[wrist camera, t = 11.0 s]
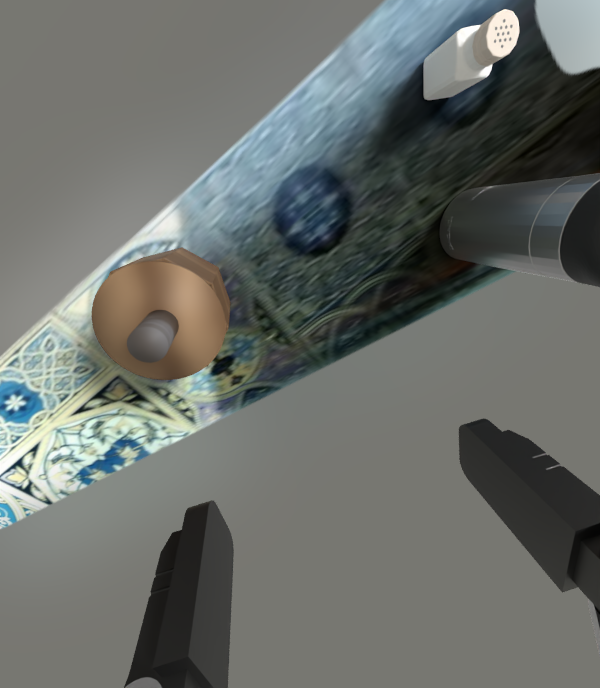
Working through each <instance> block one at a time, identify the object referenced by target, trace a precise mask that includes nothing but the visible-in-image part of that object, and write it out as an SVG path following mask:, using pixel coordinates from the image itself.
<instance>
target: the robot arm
mask: <svg viewBox="0 0 600 688" xmlns="http://www.w3.org/2000/svg"><path fill="white" fill-rule="evenodd" d="M440 241H441V244H442V247H443V249H444V250H445V252H446V253H447V254H448V255H450V256H451V257H453V258H455V259H459V260H464V261H469V262H474V263H478V264H483V265H488V266H494V267H499V268H504V269H509V270H514V271H520V272H525V273H530V274H535V275H540V276H545V277H551V278H557V279H562V280H567V281H572V282H577V283H583V284H588V285H593V286H598V287H600V173H599V174H591V175H583V176H575V177H567V178H558V179H550V180H541V181H532V182H524V183H515V184H507V185H497V186H489V187H480V188H473V189H469V190H466V191H464V192H462V193H460V194H459V195H458V196H457V197H455V198H454V199H453V201H452V202H451V203H450V204H449V205H448V207H447V209H446V210H445V212H444V214H443V217H442V220H441V224H440ZM459 452H460V453H459V455H460V464H461V467H462V470H463V471H464V474H465V475H466V477H467V478H468V480H469V481H470V482H471V484H472V485H473V486H474V487H475V488H476V489H477V491H478V492H479V493H480V494H481V495H482V496H483V498H484V499H485V500H486V501H487V503H488V504H489V505H490V506H491V507H492V509H493V510H494V511H495V512H496V513H497V515H498V516H499V517H500V518H501V519H502V521H503V522H504V523H505V524H506V525H507V527H508V528H509V529H510V530H511V531H512V533H513V534H514V535H515V536H516V537H517V539H518V540H519V541H520V542H521V543H522V545H523V546H524V547H525V548H526V549H527V551H528V552H529V553H530V554H531V555H532V557H533V558H534V559H535V560H536V561H537V563H538V564H539V565H540V566H541V567H542V569H543V570H544V571H545V572H546V573H547V575H548V576H549V577H550V578H551V579H552V581H553V582H554V583H555V584H556V585H557V587H558V588H559V589H560V590H561V591H562V592H565V591H568V590H570V589H574V588H576V587H579V588H580V590H581V591H582V592H583V593H584V594H585V595H586V596H587V597H588V599H589V600H588V605H589V610H590V615H591V620H592V623H593V628H594V633H595V637H596V641H597V646H598V650H599V655H600V495H599V494H597V493H596V492H595V491H593V490H592V489H591V488H590V487H588V486H587V485H586V484H584V483H583V482H582V481H581V480H579V479H578V478H577V477H576V476H575V475H573V474H572V473H571V472H569V471H568V470H567V469H566V468H565V467H561V466H560V464H559V463H558V462H557V461H556V460H554V459H553V458H552V457H550V456H549V455H546V453H545V452H544V451H543V450H542V449H541V448H539V447H538V446H537V445H536V444H534V443H533V442H532V441H531V440H529V439H528V438H525V437H523V436H521V435H518V434H516V433H514V432H512V431H510V430H507V431H503V432H502V431H501V430H499V429H498V428H497V427H496V426H495V425H494V424H492V423H491V422H490V421H489V420H487V419H480V420H477V421H474V422H471V423H467V424H464V425H461V426H460V427H459ZM232 575H233V541H232V536H231V533H230V531H229V528H228V526H227V524H226V522H225V520H224V519H223V517H222V515H221V513H220V511H219V509H218V507H217V505H216V503H215V502H214V501H209V502H206V503H202V504H199V505H196V506H193V507H190V508H188V509H187V510H186V513H185V517H184V522H183V526H182V530H180V531H176V532H173V533H172V534H171V536H170V538H169V539H168V541H167V543H166V545H165V546H164V548H163V550H162V551H161V554H160V558H159V562H158V565H157V570H156V577H155V578H154V581H153V585H152V589H151V596H150V597H149V601H148V604H147V608H146V612H145V615H144V619H143V623H142V627H141V631H140V635H139V639H138V643H137V646H136V650H135V654H134V658H133V662H132V665H131V669H130V673H129V676H128V679H127V681H126V684H125V686H124V688H228V666H229V645H230V622H231V599H232Z"/></svg>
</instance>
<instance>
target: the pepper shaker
mask: <svg viewBox="0 0 600 688" xmlns="http://www.w3.org/2000/svg"><path fill="white" fill-rule="evenodd" d="M518 35H519V22H518V19H517V17H516V16H515V14H514V12H513V11H509V10H506V9H504V10H502V11H500V12H498V13H496V14H495V15H493V16H492V17H491V18H490V19H488V20H487V21H486V22H484V23H483V24H482V25H477V26H471V27H466V28H462V29H460V30H459V31H458V32H456V33H455V34H454V35H453V36H451V37H450V38H449V39H448V40H447V41H445V42H444V43H443V44H442V45H441V46H439V47H438V48H437V49H436V50H435V51H434V52H432V53H431V54H430V55H429V56H428V57H426V58H425V60H424V64H423V96H424V99H426V100H435V99H441V98H448V97H452V96H454V95H456V94H458V93H459V92H461V91H463V90H465V89H466V88H468V87H470V86H472V85H474V84H475V83H477V82H479V81H481V80H483V79H484V78H486V77H487V76H488V75H489V73H490V71H491V69H492V64H493V63H495V62H496V61H498V60H500V59H501V58H503V57H505V56H506V55H508V54H509V53H510V52H511V50H512V49H513V48H514V46H515V45H516V42H517V39H518Z"/></svg>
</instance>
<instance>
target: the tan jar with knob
mask: <svg viewBox="0 0 600 688" xmlns="http://www.w3.org/2000/svg"><path fill="white" fill-rule="evenodd" d="M229 313H230V300H229V297H228V294H227V292H226V289H225V286H224V283H223V280H222V277H221V274H220V271H219V268H218V267H217V266H215V265H213V264H211V263H209V262H208V261H206V260H204V259H202V258H200V257H198V256H197V255H195V254H193V253H191V252H189V251H188V250H186V249H184V248H178V249H174V250H171V251H167V252H163V253H159V254H155V255H151V256H148V257H143V258H141V259H139V260H136V261H134V262H132V263H129V264H127V265H125V266H123V267H120V268H118V269H116V270H113V271H111V272H110V274H109V277H108V278H107V279H106V280H105V281H104V283H103V284H102V285H101V287H100V288H99V290H98V292H97V294H96V296H95V299H94V302H93V307H92V323H93V328H94V331H95V335H96V337H97V339H98V341H99V343H100V345H101V346H102V348H103V349H104V350H105V352H106V353H107V354H108V355H109V356H110V357H111V358H112V359H113V360H114V361H115V362H116V363H118V364H119V365H120V366H122V367H123V368H125V369H127V370H128V371H130V372H132V373H135V374H137V375H140V376H143V377H146V378H151V379H159V380H172V379H179V378H184V377H187V376H190V375H192V374H195V373H196V372H198V371H200V370H202V369H203V368H205V367H206V366H208V365H209V363H210V362H211V361H212V360H213V359H214V358H215V357H216V355H217V354H218V352H219V351H220V348H221V346H222V344H223V340H224V337H225V334H226V332H227V330H228V328H229Z"/></svg>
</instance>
